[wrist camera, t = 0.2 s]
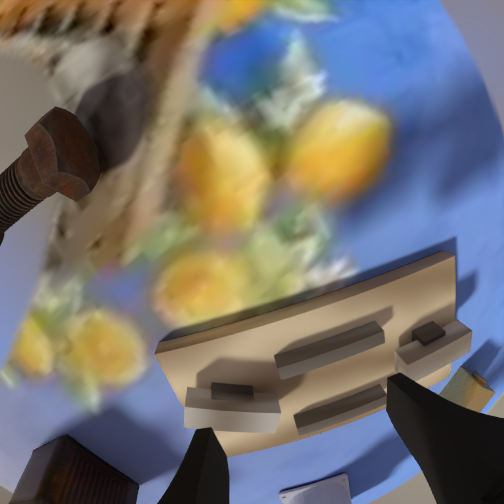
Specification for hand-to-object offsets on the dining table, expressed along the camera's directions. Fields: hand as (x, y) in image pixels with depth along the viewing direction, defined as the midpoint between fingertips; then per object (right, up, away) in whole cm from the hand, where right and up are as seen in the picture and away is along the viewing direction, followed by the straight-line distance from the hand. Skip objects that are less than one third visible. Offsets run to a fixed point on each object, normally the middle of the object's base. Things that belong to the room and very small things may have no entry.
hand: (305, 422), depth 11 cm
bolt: (-19, +10, +6) cm, 22 cm away
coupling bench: (+4, -2, +11) cm, 12 cm away
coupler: (+19, -8, +15) cm, 25 cm away
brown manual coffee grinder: (-20, -20, +14) cm, 32 cm away
